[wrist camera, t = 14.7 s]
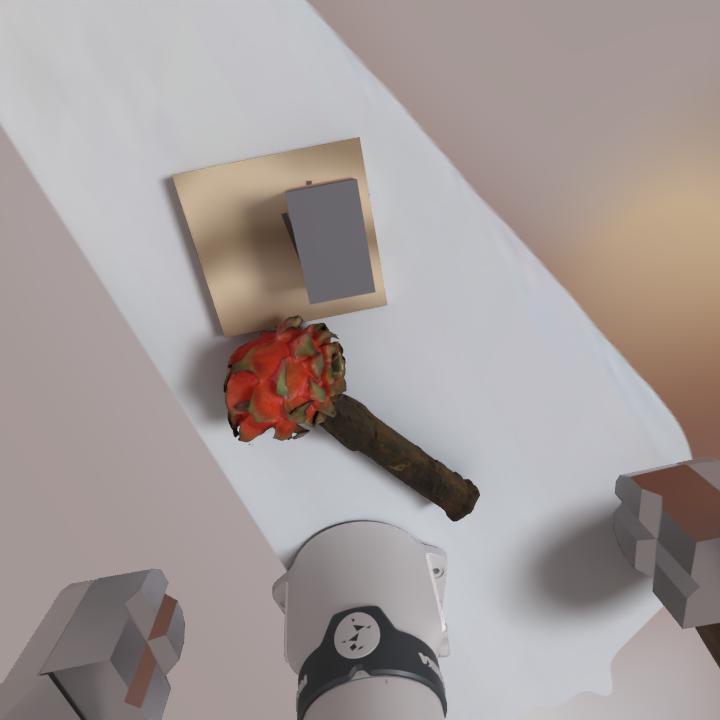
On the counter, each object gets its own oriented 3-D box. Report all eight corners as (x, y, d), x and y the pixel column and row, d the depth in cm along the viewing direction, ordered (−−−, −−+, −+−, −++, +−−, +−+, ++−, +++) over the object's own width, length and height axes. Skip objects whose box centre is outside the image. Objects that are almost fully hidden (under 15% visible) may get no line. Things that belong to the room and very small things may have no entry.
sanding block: (368, 277, 34) (375, 293, 29) (311, 288, 34) (310, 306, 29) (351, 176, 31) (356, 177, 26) (289, 188, 31) (284, 191, 26)
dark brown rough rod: (473, 476, 44) (489, 508, 40) (443, 501, 45) (456, 535, 41) (330, 358, 38) (332, 380, 34) (300, 389, 39) (297, 415, 35)
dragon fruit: (349, 311, 37) (258, 392, 42) (276, 271, 31) (176, 373, 35) (391, 392, 33) (285, 474, 37) (317, 366, 26) (197, 469, 31)
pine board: (384, 299, 36) (387, 305, 35) (228, 331, 36) (225, 337, 35) (357, 138, 32) (359, 137, 30) (178, 174, 32) (171, 175, 30)
